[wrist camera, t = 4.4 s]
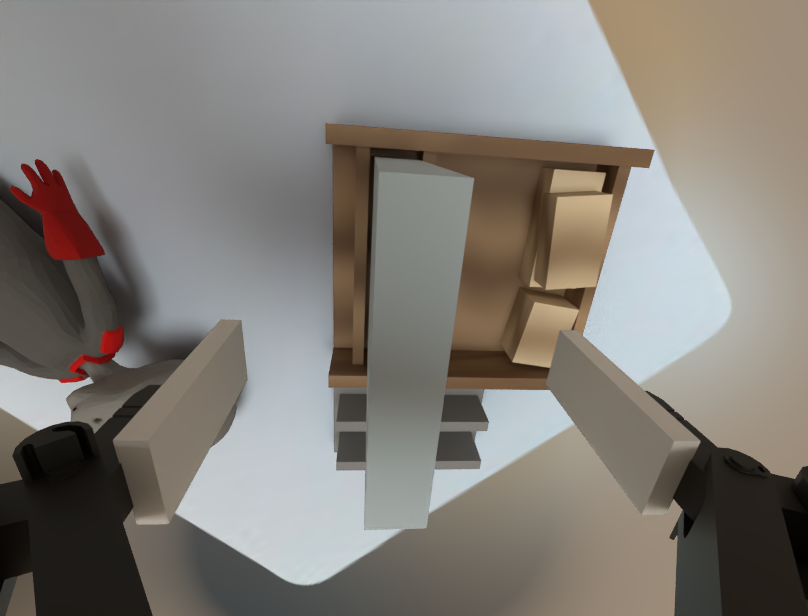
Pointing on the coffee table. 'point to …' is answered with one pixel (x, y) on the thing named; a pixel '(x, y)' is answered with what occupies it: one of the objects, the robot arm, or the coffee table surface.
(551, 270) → the offcut
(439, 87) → the coffee table surface
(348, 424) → the stand
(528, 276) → the offcut
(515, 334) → the offcut
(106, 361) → the toy
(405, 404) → the grey flat slab
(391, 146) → the rack
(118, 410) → the robot arm
